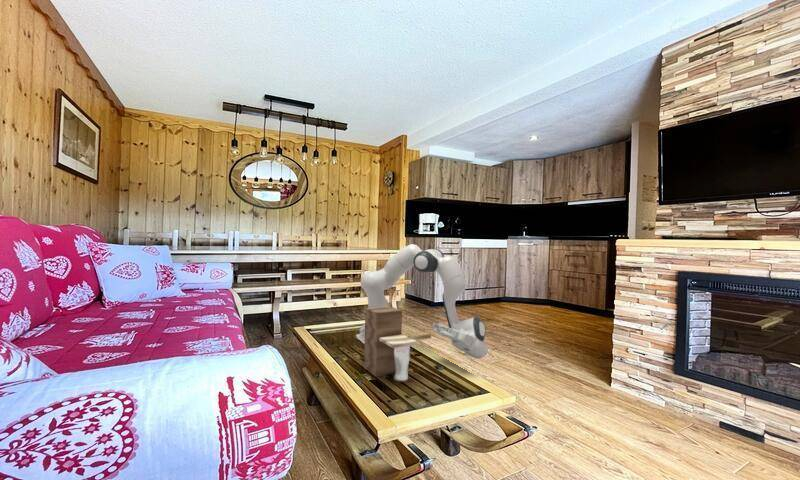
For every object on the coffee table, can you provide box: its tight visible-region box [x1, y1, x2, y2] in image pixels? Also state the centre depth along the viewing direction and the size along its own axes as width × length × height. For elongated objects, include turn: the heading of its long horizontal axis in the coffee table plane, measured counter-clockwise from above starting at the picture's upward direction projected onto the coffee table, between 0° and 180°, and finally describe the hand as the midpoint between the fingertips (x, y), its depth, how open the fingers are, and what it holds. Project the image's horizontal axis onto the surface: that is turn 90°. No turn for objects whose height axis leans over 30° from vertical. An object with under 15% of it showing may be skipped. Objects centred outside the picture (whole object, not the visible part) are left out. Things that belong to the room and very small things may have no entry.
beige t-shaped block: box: [379, 332, 432, 348], centre depth 140 cm, size 11×21×2 cm, turn 122°
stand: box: [363, 305, 403, 378], centre depth 147 cm, size 11×12×26 cm
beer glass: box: [393, 345, 411, 383], centre depth 138 cm, size 7×7×15 cm
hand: (441, 327), depth 149 cm, fingers open, 8 cm apart
